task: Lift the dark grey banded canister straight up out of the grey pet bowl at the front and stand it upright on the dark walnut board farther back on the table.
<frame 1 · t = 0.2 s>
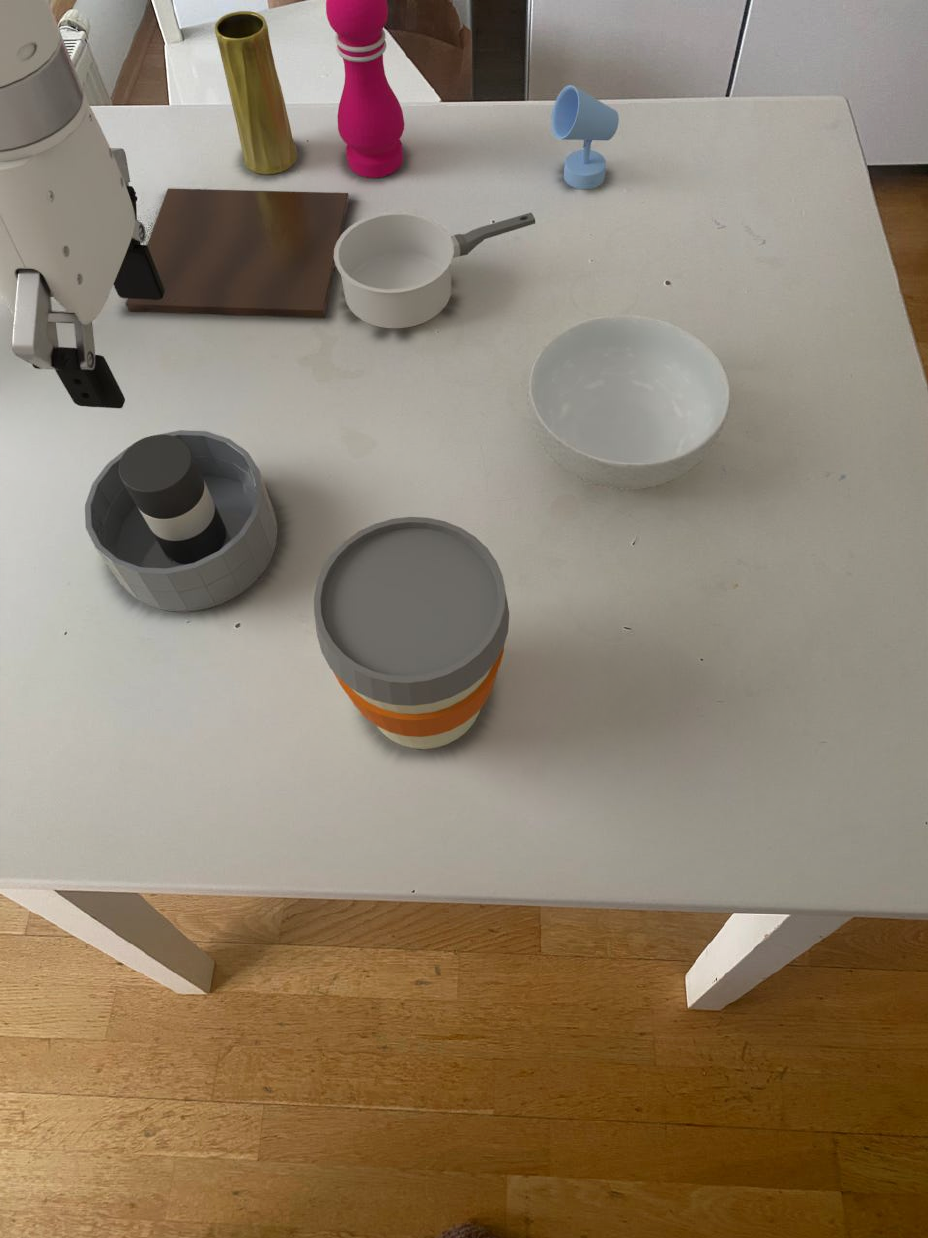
hand: (122, 347, 59), 21 cm above the table, tool pointing down, fingers open, 9 cm apart
spotlight: (580, 178, 99), on the table
vase: (271, 159, 102), on the table
saucepan: (439, 288, 91), on the table
pepper mill: (375, 162, 101), on the table
cereal bowl: (618, 441, 81), on the table
board: (243, 253, 94), on the table
dark grey banded canister: (175, 502, 72), in the grey pet bowl
grey pet bowl: (195, 540, 76), on the table
reusable coffee cup: (425, 695, 69), on the table
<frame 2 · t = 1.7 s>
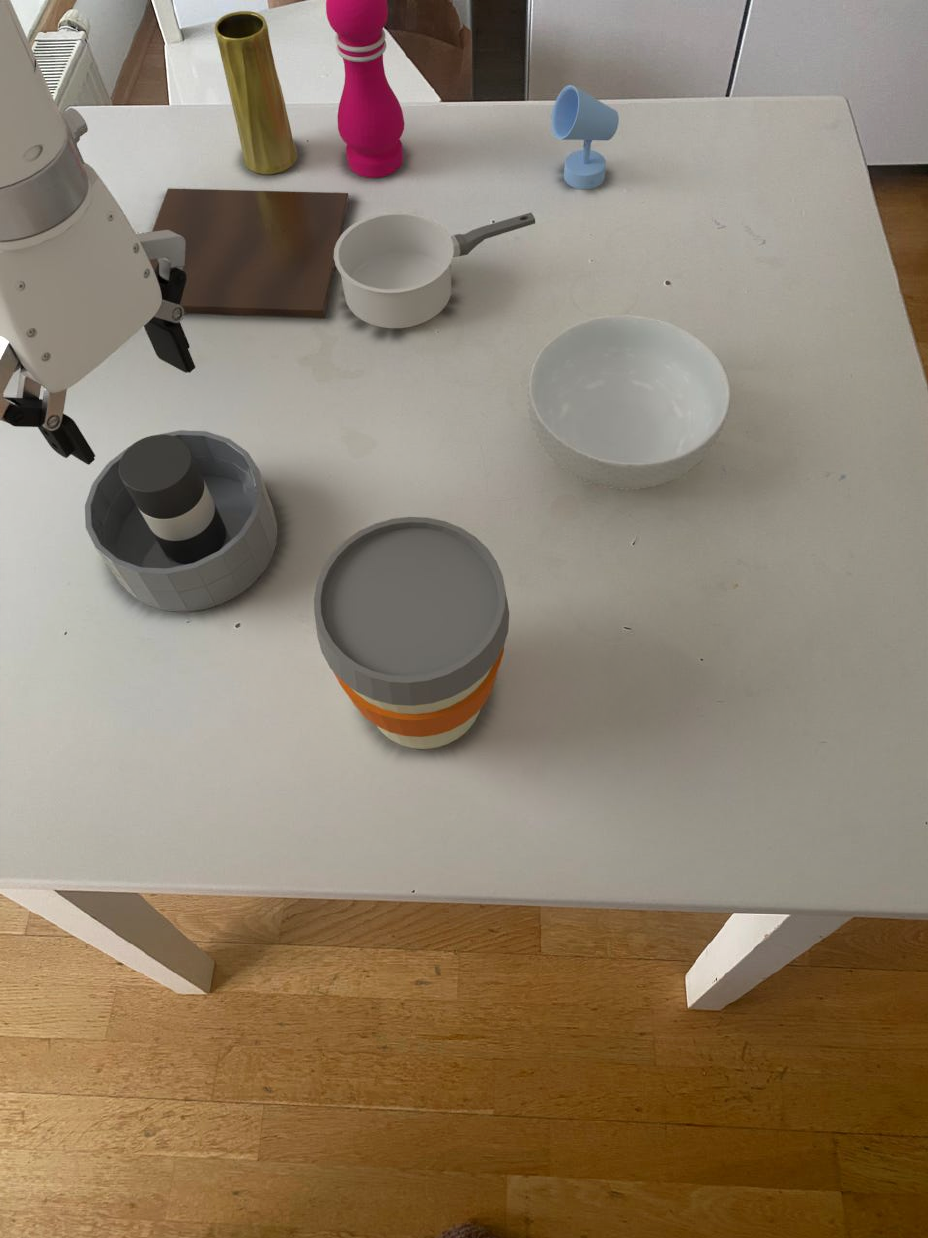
hand: (129, 407, 62), 17 cm above the table, tool pointing down, fingers open, 9 cm apart
nothing on the table moved.
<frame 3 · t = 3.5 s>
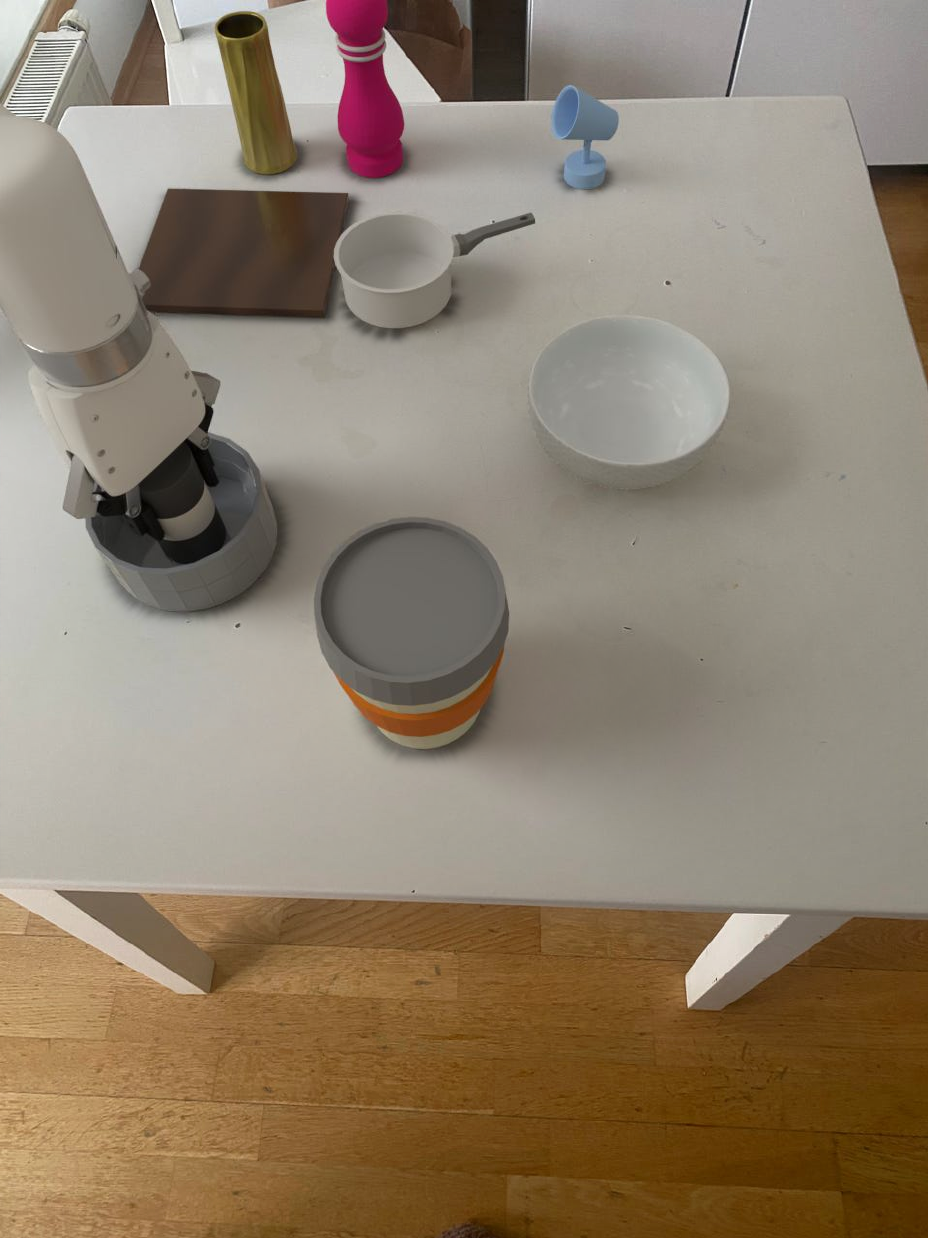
hand: (176, 502, 72), 5 cm above the table, tool pointing down, fingers closed on dark grey banded canister, 5 cm apart
dark grey banded canister: (175, 502, 72), in the grey pet bowl, touching gripper
everything else where it was.
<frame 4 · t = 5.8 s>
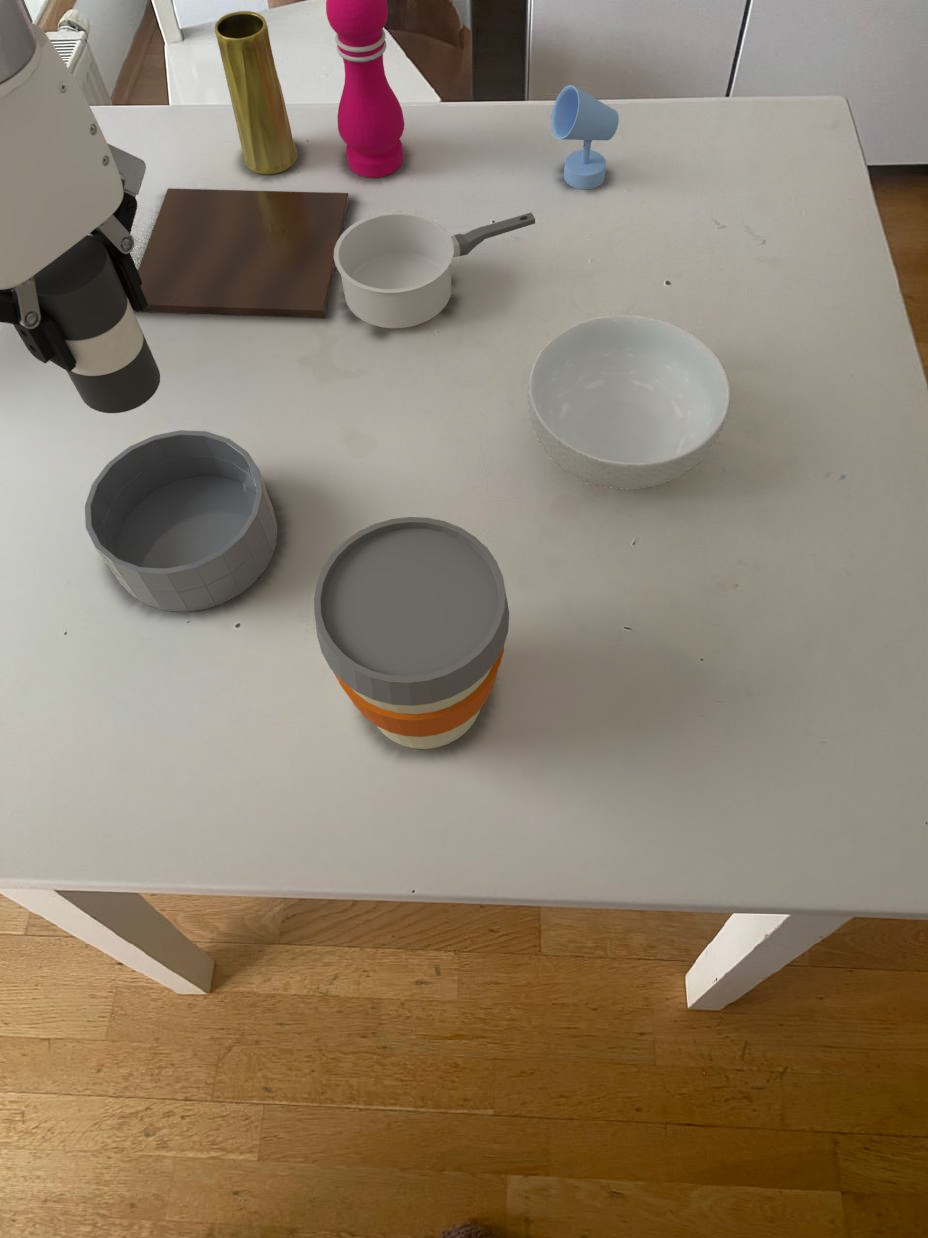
hand: (93, 328, 57), 22 cm above the table, tool pointing down, fingers closed on dark grey banded canister, 5 cm apart
dark grey banded canister: (92, 327, 57), point 23 cm above the table, touching gripper
everything else where it was.
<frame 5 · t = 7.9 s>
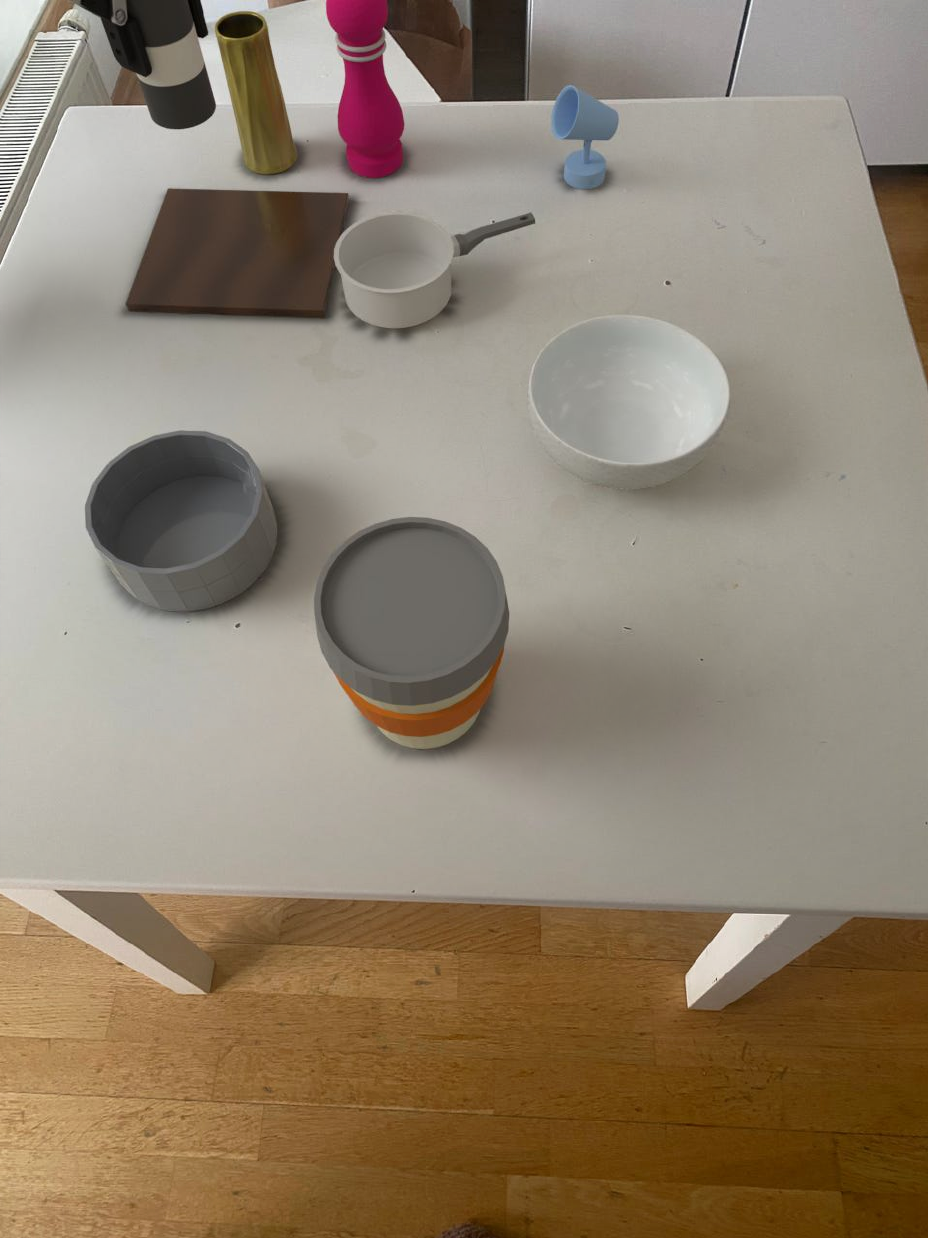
hand: (164, 48, 71), 23 cm above the table, tool pointing down, fingers closed on dark grey banded canister, 5 cm apart
dark grey banded canister: (164, 47, 71), point 24 cm above the table, touching gripper
everything else where it was.
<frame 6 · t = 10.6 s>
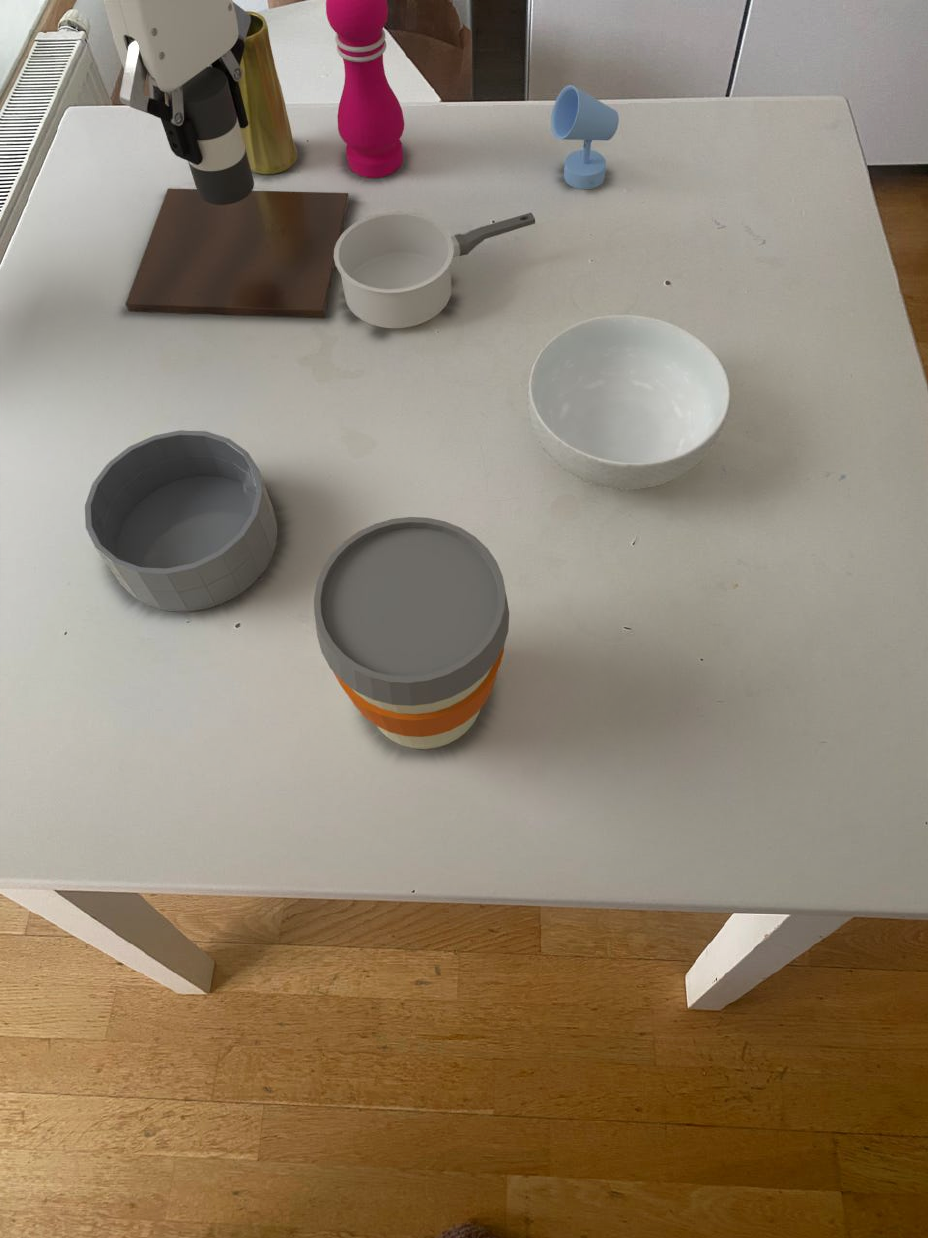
hand: (211, 138, 83), 13 cm above the table, tool pointing down, fingers closed on dark grey banded canister, 5 cm apart
dark grey banded canister: (211, 137, 83), point 13 cm above the table, touching gripper
everything else where it was.
when the fingers open (6 cm above the table, at t = 12.6 s): dark grey banded canister stays where it is, resting on board.
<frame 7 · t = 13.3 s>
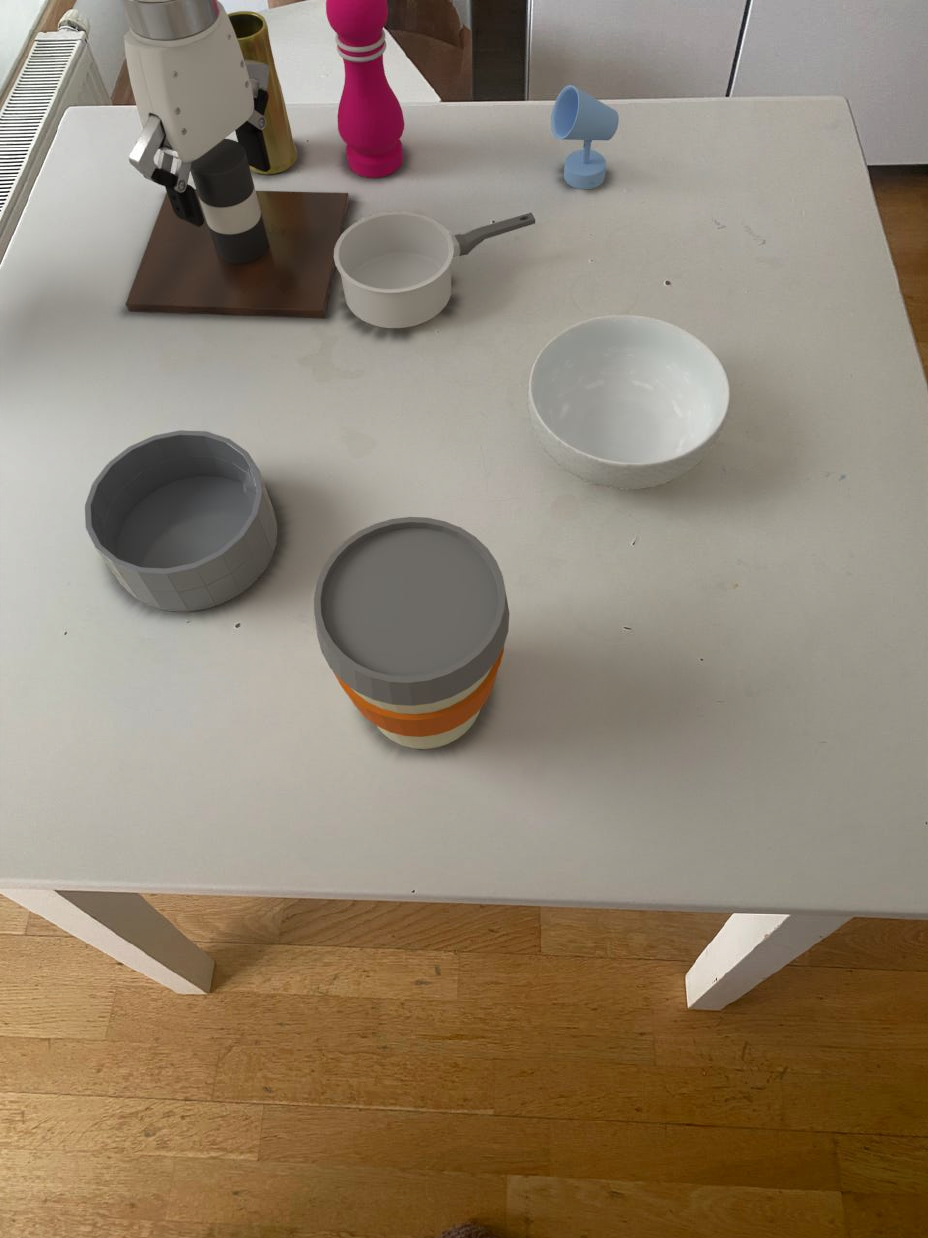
hand: (224, 192, 88), 7 cm above the table, tool pointing down, fingers open, 9 cm apart
dark grey banded canister: (230, 203, 89), on the board, point 6 cm above the table
everything else where it was.
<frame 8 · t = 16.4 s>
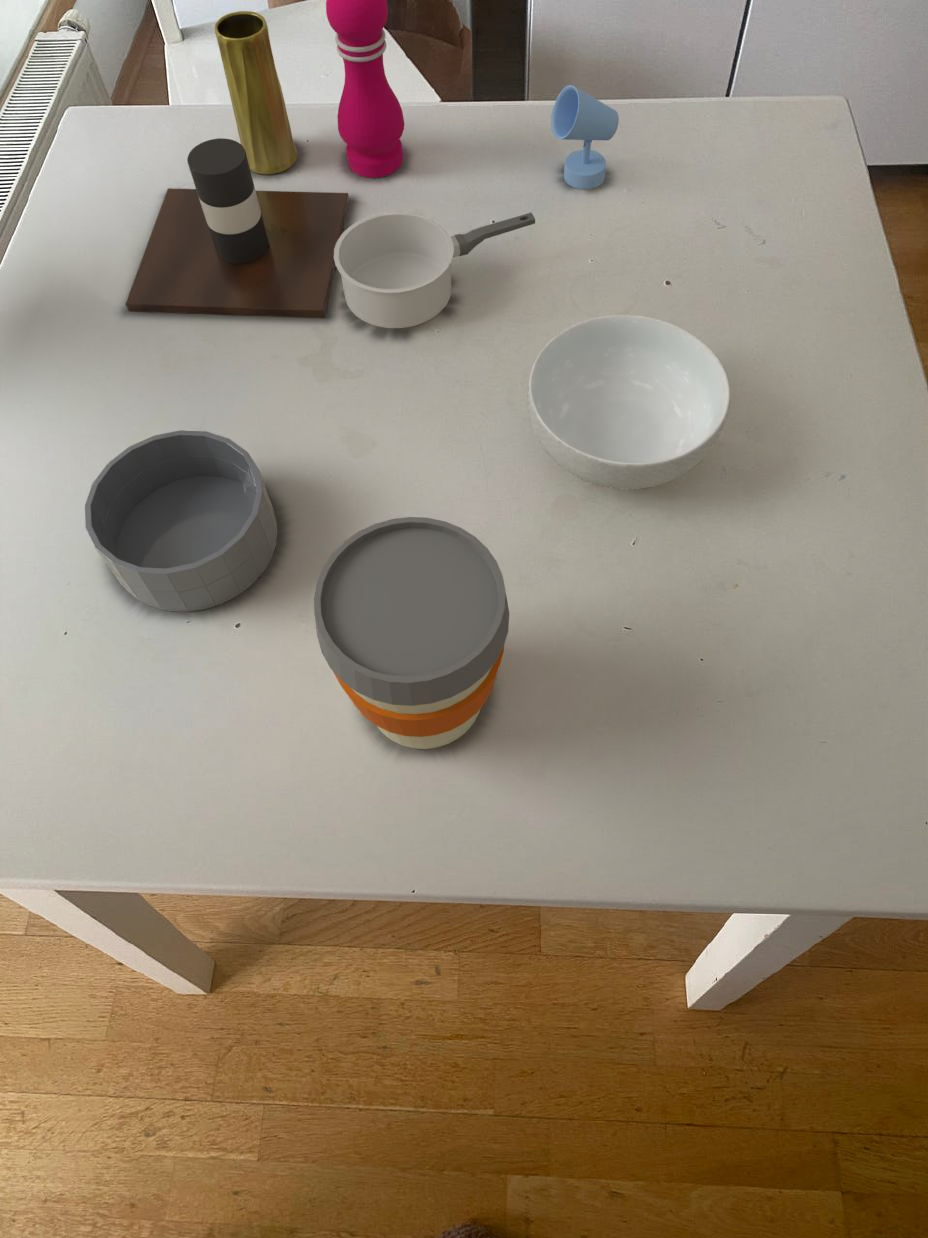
nothing on the table moved.
at the end: dark grey banded canister inside the target area on the board (0.1 cm from its centre), point 6.0 cm above the board's base; dark grey banded canister tilted 0° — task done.
